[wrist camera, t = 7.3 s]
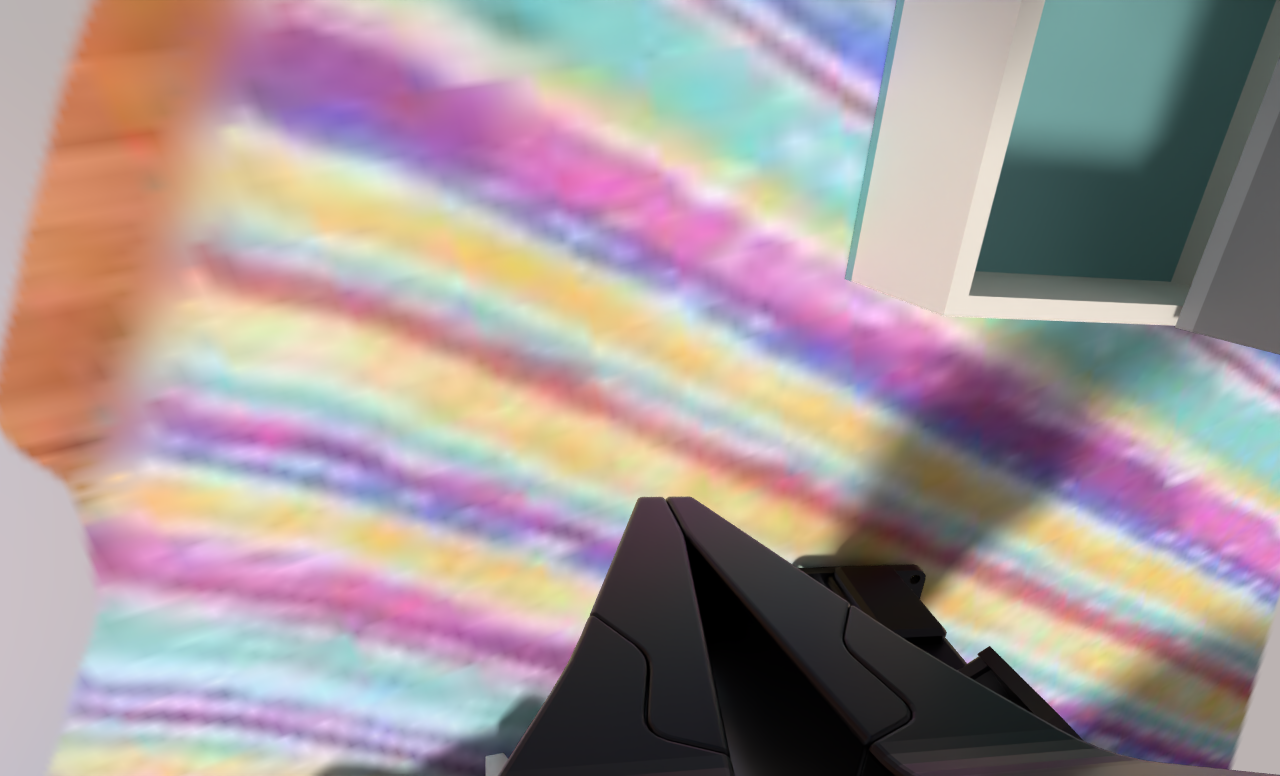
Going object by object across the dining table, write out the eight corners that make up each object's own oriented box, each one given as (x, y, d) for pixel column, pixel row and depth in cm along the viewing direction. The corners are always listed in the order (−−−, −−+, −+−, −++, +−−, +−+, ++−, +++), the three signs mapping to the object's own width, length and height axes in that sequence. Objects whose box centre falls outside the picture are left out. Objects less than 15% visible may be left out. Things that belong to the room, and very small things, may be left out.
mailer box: (1166, 295, 24) (1350, 332, 18) (844, 279, 22) (943, 316, 16) (1296, -56, 20) (1584, -144, 14) (918, -117, 18) (1082, -247, 12)
